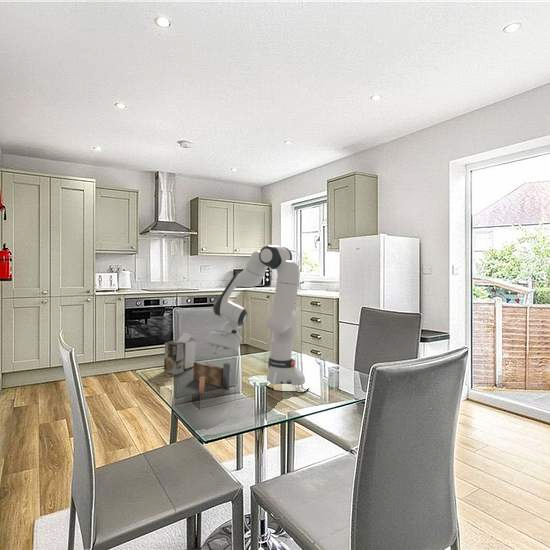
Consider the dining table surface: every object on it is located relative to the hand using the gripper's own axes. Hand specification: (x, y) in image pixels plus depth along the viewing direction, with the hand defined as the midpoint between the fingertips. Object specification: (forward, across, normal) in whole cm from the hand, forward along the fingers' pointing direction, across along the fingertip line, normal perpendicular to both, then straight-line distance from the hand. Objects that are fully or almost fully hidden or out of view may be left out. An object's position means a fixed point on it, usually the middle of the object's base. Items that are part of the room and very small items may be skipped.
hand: (215, 353), depth 212 cm
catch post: (+24, +11, -7) cm, 28 cm away
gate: (+16, +5, +1) cm, 16 cm away
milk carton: (+7, -23, +12) cm, 27 cm away
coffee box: (+15, -21, +4) cm, 26 cm away
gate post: (+16, +16, +1) cm, 22 cm away
